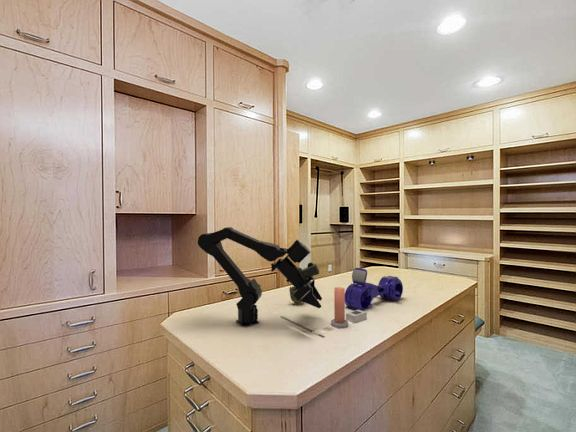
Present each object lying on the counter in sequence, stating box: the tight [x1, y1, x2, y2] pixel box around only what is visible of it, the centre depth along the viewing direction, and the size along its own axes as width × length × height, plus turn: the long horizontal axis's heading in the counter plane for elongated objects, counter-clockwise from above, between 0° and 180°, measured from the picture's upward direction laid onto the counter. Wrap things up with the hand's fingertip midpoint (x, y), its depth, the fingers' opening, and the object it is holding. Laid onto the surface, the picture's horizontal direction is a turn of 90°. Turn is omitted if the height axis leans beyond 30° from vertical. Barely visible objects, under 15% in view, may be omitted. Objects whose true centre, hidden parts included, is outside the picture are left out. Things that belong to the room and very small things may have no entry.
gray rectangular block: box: [345, 309, 368, 324], centre depth 108 cm, size 7×4×3 cm, turn 127°
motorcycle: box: [345, 267, 404, 311], centre depth 130 cm, size 35×14×18 cm, turn 128°
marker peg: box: [330, 286, 349, 329], centre depth 103 cm, size 6×6×13 cm
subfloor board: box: [280, 315, 354, 339], centre depth 110 cm, size 26×24×1 cm
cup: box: [288, 285, 303, 306], centre depth 128 cm, size 8×7×8 cm
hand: (320, 303), depth 104 cm, fingers open, 9 cm apart
